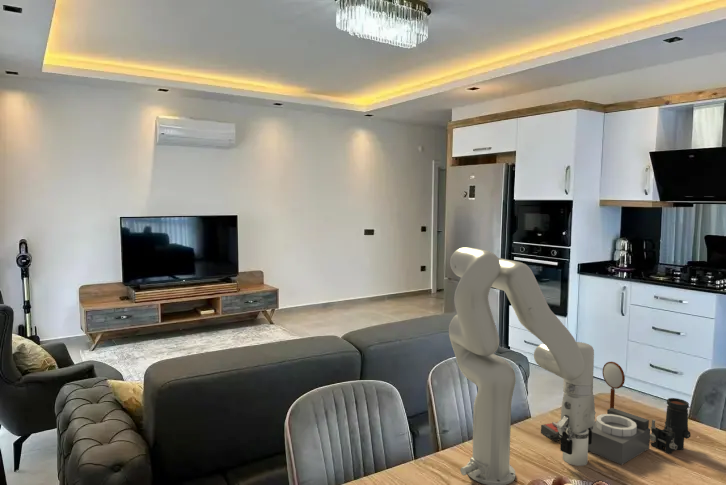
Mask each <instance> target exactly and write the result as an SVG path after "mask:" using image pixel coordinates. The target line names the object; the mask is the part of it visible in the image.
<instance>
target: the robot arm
mask: <svg viewBox="0 0 726 485" xmlns="http://www.w3.org/2000/svg"><path fill="white" fill-rule="evenodd" d="M449 265H450V268H451V271H452V272H453V274H454V275H455V276H457V277H459V278H460V279H459V282H458V284H457V286H456V288H455V291H454V295H453V296H454V298H453V299H454V307H455V311H456V314H455V315H454V316H453V317H452V319H451V320H450V322H449V325H448V336H449V340H450V344H451V347H452V349H453V353H454V356H455V359H456V362H457V365H458V368H459V369H460V371H461V374H462V375H463V376H464V377H465V378H466V379H467V380H469V381H470V382H472V383H473V384H474V385H476V386H477V389H478V390H477V393H476V396H475V399H474V401H473V402H474V403H473V411H472V413H473V419H472V420H473V421H472V423H473V426H472V428H473V429H472V457H469V461H468V462H467V463H466V465H464V466H462V467H460V473H461V475H463V476H466V475H468V476H469V477H470V478H471V479H472V480H473V481H475V482H478V483H480V484H483V485H509V484H511V483H513V482H514V480H515V479H516V470H515V468H514V467H513V466H512V465H511V464H510V462H511V461H510V456H511V424H512V423H511V422H512V420H511V419H512V418H511V416H512V401H513V394H514V390H515V388H516V387H515V386H516V383H517V382H516V378H517V377H516V373H515V372H516V371H515V369H514V368H513V367H512V365H511V364H510V363H509V362H508V361H507V360H505V359H504V358H503V357H500V356H499V355H497V354H495V353H496V351H497V350H498V349H499V345H500V336H499V335H500V334H499V331H498V330H497V328H498V327H496V323H495V320H494V316H493V312H492V310H491V306H490V300H489V295H490V291H491V288H494V289H497V290H500V291H503V292H504V293H505V294H506V297H507V299H508V301H509V303H510V304H511V307H512V308H513V311H514V313H515V315H516V318H517V319H518V321H519V323H520V324H521V325H522V326H523V327H524V328H525V329H526V330H527V331H529V333H530V334H532V335H533V336H535V337H536V338H537V339H539V341H541V342H542V343H541V344H539V345H537V347H536V348H535V349H534V352H533V359H534V362H535V363H536V364H537V365H538V366H539V367H540V368H542V369H544V370H545V371H548V372H549V373H552V374H554V375H556V376H558V377H560V378H562V379H563V380H562V381H563V384H562V385H563V387H562V388H563V390H562V392H563V396H562V401H561V409H560V410H561V411H560V420H561V421H560V423H559V424H558V425H557V429H558V434H559V435H560V437H561V440H560V448H559V449H560V452H562V453H563V452H565V453H567V454H570V455H571V454H572V440H571V438H572V436H573V433H580V432H582V431H584V430H586V429H588V430H589V437H588V444H591V443H592V429H593V425H594V424H595V421H596V413H597V412H596V404H595V396H594V395H595V394H594V392H593V391H594V365H595V364H594V363H595V350H594V347H593V346H592V345H591V344H589V343H586V342H582V341H581V342H580V341H576V339H575V337H574V336H573V335H572V333H571V331H570V330H569V329H568V328H567V327H566V326H565V325H564V324H563V321H562V322H561V319H560V318H559V317H557V315H556V314H555V313H554V311H552V310H551V307H550V306H549V305H548V303H547V300H546V298H545V296H544V294H543V291H542V289H541V288H540V285H539V283H538V280H537V279H536V277H535V274H534V273H533V271H532V269H531V268H530V267H529V266H528V265H527V264H526V263H525V262H524V263H523V262H521V261H517V260H511V259H507V258H506V259H505V258H501V257H498V256H497V254H495V253H494V252H492V251H490V250H485V249H480V248H474V247H470V246H469V247H468V246H466V247H460V248H458V249H456V250H455V251H454V252H453V253H452V255H451V256H450V260H449ZM569 426H570V427H571V428H568V427H569ZM566 430H568V431H570V432H569V434H567V433H566Z"/></svg>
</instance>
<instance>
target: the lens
mask: <svg viewBox="0 0 726 485" xmlns="http://www.w3.org/2000/svg"><path fill="white" fill-rule="evenodd" d="M568 428H571V427H570V426H569V427H568ZM569 432H570V431H568V430H566V433H567V434H569ZM588 437H589V430H588V429H586V430H584V431H582V432H580V433H573V436H572V438H571V440H572V454H571V455H570V454H567V453H565V452H563V451H562V460H563V461H564V462H565V463H567V464H569V465H572V466H578V467H583V466H586V465H587V464H588V461H589V460H588V459H589V458H588V457H589V451H588Z"/></svg>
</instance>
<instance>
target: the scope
mask: <svg viewBox="0 0 726 485" xmlns="http://www.w3.org/2000/svg"><path fill="white" fill-rule="evenodd" d="M666 404H667V406H666V407H667V408H666V412H665V413H666V414H665V422H664V427H663V429H661V428H658V427H656V419H651V426H650V441H651V442H650V446H651V447H653V448H655V449H658V448H659V450H661V451H664V452H665V454H667V455H670V454H673V452H675V451H683V450H684V448H685V439H689V438H691V436H692V435H691V432H690V430H689V410H688V409H689V407H690V403H689V402H688V401H686V400H684V399H681V398H677V397H676V398H675V397H670V398H667V399H666Z"/></svg>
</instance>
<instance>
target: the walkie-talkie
mask: <svg viewBox="0 0 726 485" xmlns="http://www.w3.org/2000/svg"><path fill="white" fill-rule="evenodd" d="M560 421H561V419H559V420H558V421H556V422H555V421H552V422H551V423H545V424H541V425H540V434H542V435H543V436H545V437H546V438H548V439H549V440H551V441H553V440H554V441H555V442H556V440H557V441H561V437H560V435H559V434H558V429H557V425H558V424H559V423H560ZM554 441H553V442H554Z"/></svg>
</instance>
